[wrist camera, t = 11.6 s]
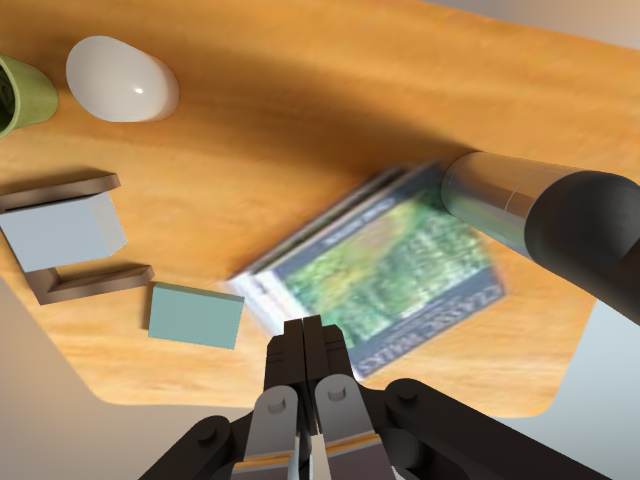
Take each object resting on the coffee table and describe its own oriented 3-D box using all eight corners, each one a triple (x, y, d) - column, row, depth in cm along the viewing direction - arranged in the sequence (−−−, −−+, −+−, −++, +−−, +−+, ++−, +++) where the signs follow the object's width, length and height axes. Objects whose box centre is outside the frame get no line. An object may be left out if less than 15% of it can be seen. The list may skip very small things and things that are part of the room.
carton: (108, 190, 42) (86, 199, 37) (128, 242, 44) (110, 256, 40) (28, 205, 42) (-5, 215, 37) (52, 256, 44) (24, 272, 40)
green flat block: (245, 295, 49) (243, 302, 47) (235, 341, 51) (233, 349, 50) (158, 280, 47) (153, 286, 45) (153, 328, 49) (148, 336, 48)
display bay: (116, 173, 41) (104, 177, 38) (154, 275, 46) (146, 285, 43) (5, 193, 41) (-16, 199, 38) (55, 294, 46) (40, 305, 43)
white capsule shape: (190, 81, 39) (163, 71, 30) (161, 133, 40) (128, 137, 32) (132, 40, 37) (86, 16, 28) (104, 96, 38) (52, 90, 30)
